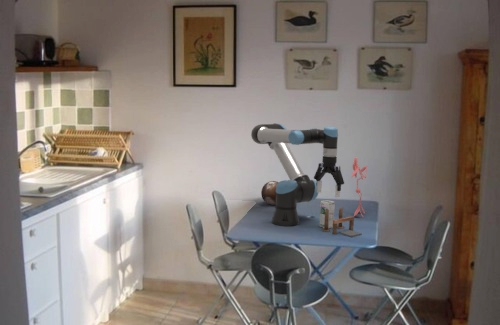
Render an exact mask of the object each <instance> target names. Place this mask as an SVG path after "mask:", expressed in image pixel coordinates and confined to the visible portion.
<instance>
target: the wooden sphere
mask: <svg viewBox="0 0 500 325" xmlns="http://www.w3.org/2000/svg"><path fill="white" fill-rule="evenodd" d="M278 182H279V181H275V180H271V181H268V182H266V183H264V185H263V186H262V189H261V198H262V200H263V201H264V202H265V203H266V204H267V205H272V206H276V186H277V183H278Z"/></svg>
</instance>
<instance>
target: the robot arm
mask: <svg viewBox="0 0 500 325" xmlns="http://www.w3.org/2000/svg"><path fill="white" fill-rule="evenodd" d="M338 131H339V130H338V128H337V127H335V126H325V127H323V129H319V128H310V129H300V130H299V129H287V128H286V126H285V125H283V124H282V123H268V124H266V123H264V124H263V123H262V124H257V125H255V126H254V127H253V129H252V130H251V135H250V136H251V139H252V140H253V142H254V143H257V144H260V145H265V144H266V145H268V147H269V148H270V150H274V152H275V154H276V157H277V158H278V159H279V162H280V163H281V165H282V167H283V169H284V170H285V173H286V176H288V178H289V179H288V180H287V179H285V180H281V181H277V182H278V183H277V186H276V205H275V209H274V212H273V216H272V218H271V223H272V224H273V225H276V226H280V227H282V226H284V227H293V226H297V225H299V224H300V218H299V215H298V214H299V213H298V211H297V206H298V205H297V204H299V203H306V202H308V203H309V202H311V201H314V200H316V199H317V197H318V196H319V193H322V184H323V181H322V179H323V177H324V176H325V175H326V174H330V175H331V176H332V177H333V180H334V182H335V190H334V192H335V195H334V197H335V198H339V197H341V194H340V193H341V190H342V188H341V187H342V185H344V184H345V180H344V178H343V174H342V172H341V171H342V170H341V166H340V165H338V166H336V164H337V159H338V158H337V156H338V137H339V132H338ZM288 144H291V145H294V146H295V145H298V146H299V145H307V144H309V145H310V144H322V160H321V161H322V162H321V163H320V162H319V163H318V167H317V170H316V171H315V174H314V176H313V179H314V180H313V179H310V177H309V175H308V174H305V173H304V172H303V170H302V168H301V166H300V165H299V163H298V161H297V159H296V157H295V155H294V153H293V152H292V150H291V148H290V147H289V145H288Z"/></svg>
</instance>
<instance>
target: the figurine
mask: <svg viewBox="0 0 500 325" xmlns="http://www.w3.org/2000/svg"><path fill="white" fill-rule="evenodd" d="M352 169H353V172H352V174H351V178H353V177H354V178H355V179H357V180H356V189H355V192H356V193H357V195H358V197H359V202H358V207H357V208H356V210H355V211H354V213H353V217H354V218H355V217H356V216H357V215H358V214H359V212H360V215H361V217H362V218H364V214H365V212H366V211H365V210H364V208H363V206H362V205H363V204H362V203H361V202H362V194H363V193H362V192H361V189H360V188H359V180H364V178H365V179H366V178H367V172H368V165H365V166H364V167H362V168H361V169H360V166H359V164H358V157H356V156H354V159H353V164H352ZM364 171H365V175H363V172H364ZM358 172H359V175H360V177H359V178H357V177H358ZM361 209H362V212H363V213H362V212H361ZM346 217H347V216H346ZM346 217H345V216H344V218H346Z"/></svg>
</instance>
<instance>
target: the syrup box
mask: <svg viewBox="0 0 500 325" xmlns="http://www.w3.org/2000/svg"><path fill="white" fill-rule="evenodd" d="M335 202H336V201H333V200H328V199H325V200H320V207H319V208H320V209H319V211H320V212H319V228H322V229H324V225H325V210H329V220H328V229H331V228H332V229H333V220H335V209H336V208H335V204H336V203H335Z"/></svg>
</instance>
